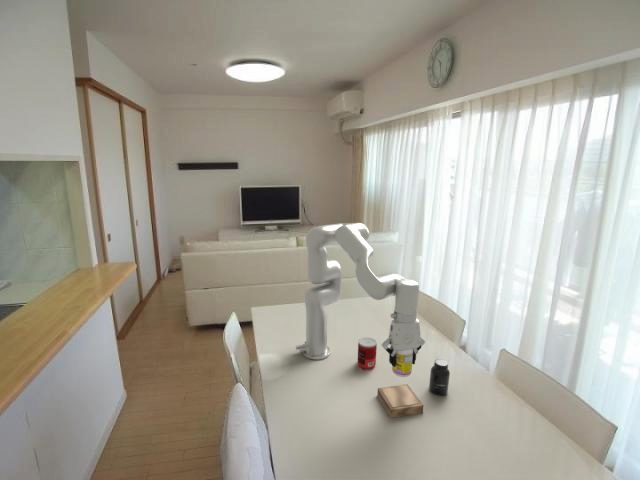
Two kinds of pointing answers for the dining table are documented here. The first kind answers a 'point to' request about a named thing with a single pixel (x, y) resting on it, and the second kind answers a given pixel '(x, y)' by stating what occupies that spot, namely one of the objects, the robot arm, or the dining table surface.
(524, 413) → the dining table surface
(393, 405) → the bronze plinth
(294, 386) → the dining table surface
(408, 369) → the supplement bottle
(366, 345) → the canned food
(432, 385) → the supplement bottle
